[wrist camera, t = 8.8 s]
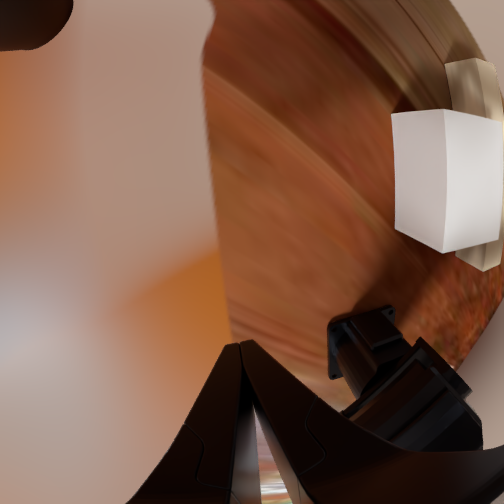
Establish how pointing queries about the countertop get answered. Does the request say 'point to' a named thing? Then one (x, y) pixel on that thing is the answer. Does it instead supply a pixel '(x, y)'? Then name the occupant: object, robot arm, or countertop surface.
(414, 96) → the countertop surface
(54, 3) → the mug
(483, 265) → the board
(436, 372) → the robot arm
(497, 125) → the block
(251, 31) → the countertop surface
